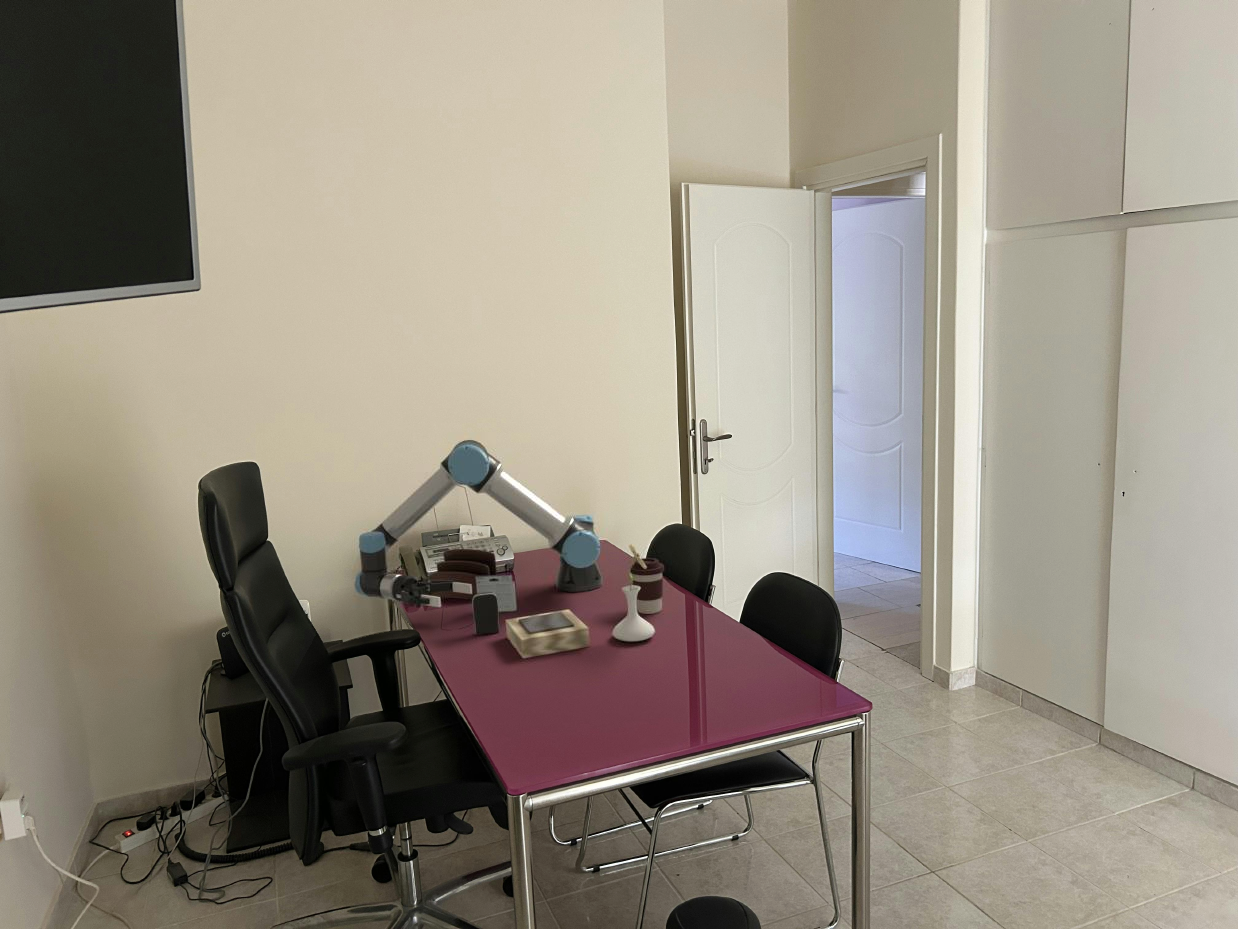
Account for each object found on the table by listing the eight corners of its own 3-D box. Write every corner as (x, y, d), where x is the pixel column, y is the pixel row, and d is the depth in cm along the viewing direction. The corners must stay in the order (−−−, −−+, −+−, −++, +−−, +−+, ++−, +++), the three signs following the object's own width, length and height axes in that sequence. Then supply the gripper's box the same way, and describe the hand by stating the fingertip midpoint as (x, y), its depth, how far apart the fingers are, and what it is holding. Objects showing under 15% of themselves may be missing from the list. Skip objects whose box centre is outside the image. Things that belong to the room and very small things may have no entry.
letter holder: (448, 588, 303) (444, 547, 300) (499, 592, 295) (496, 549, 292) (430, 597, 293) (426, 554, 291) (483, 601, 286) (479, 557, 283)
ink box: (517, 609, 275) (514, 572, 273) (515, 612, 272) (512, 574, 270) (479, 610, 276) (476, 573, 274) (477, 613, 273) (474, 575, 272)
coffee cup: (627, 614, 263) (624, 564, 261) (639, 604, 272) (636, 555, 270) (659, 617, 259) (656, 566, 257) (670, 606, 268) (668, 557, 266)
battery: (498, 628, 258) (495, 589, 256) (500, 632, 254) (497, 593, 252) (474, 632, 256) (470, 592, 254) (475, 636, 252) (471, 596, 251)
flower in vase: (651, 645, 237) (646, 552, 233) (608, 645, 239) (602, 552, 235) (659, 629, 249) (654, 540, 246) (618, 628, 252) (613, 540, 248)
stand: (569, 626, 256) (568, 607, 255) (589, 646, 239) (588, 625, 238) (506, 637, 250) (505, 617, 249) (523, 658, 233) (521, 637, 232)
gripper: (429, 588, 280) (484, 596, 269) (370, 612, 259) (426, 621, 248) (427, 565, 279) (482, 571, 268) (367, 586, 258) (424, 594, 247)
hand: (455, 595), depth 258 cm, fingers open, 13 cm apart
